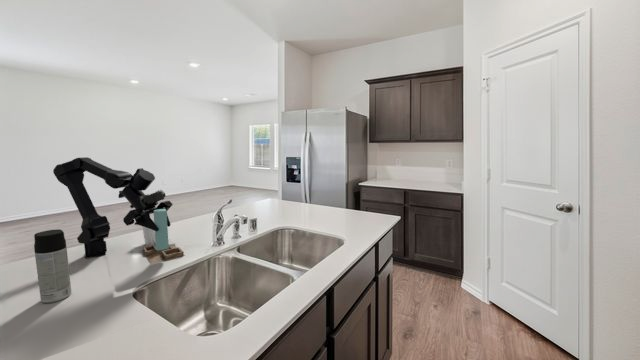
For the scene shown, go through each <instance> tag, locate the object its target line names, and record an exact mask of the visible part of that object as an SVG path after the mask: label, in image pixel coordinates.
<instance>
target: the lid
mask: <svg viewBox="0 0 640 360" xmlns="http://www.w3.org/2000/svg"><path fill="white" fill-rule="evenodd" d="M168 244H169V247H171V246H176V243H175V242H174V240H172V239H171V238H170V239H169V238H168ZM152 245H153V247H154V248H155V250H156V241H155V239H153V243H152V244H151V246H152Z"/></svg>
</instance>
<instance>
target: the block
mask: <svg viewBox="0 0 640 360" xmlns="http://www.w3.org/2000/svg"><path fill="white" fill-rule="evenodd" d="M153 211H154V213H153V220H154V223H155V224H156V226H157V227H158V229H159V230H158V231H155V241H156V250H157V251H158V250H164V249H169V244H168V239H169V232H168V231H169V230H168V226H167V216H168V213H167V212H168V211H166V209H157V210H153Z"/></svg>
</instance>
